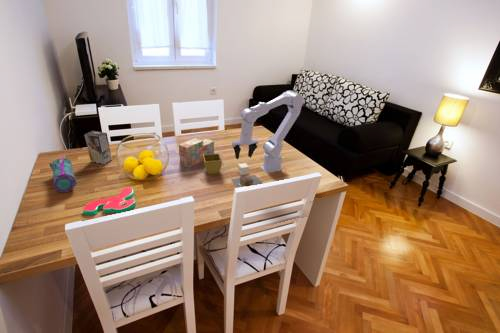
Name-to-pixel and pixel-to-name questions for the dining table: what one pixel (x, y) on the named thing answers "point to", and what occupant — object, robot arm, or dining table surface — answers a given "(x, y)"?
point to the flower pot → (212, 163)
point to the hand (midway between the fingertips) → (243, 157)
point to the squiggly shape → (112, 203)
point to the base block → (246, 181)
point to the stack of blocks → (194, 151)
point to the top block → (243, 169)
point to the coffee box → (98, 147)
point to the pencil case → (63, 175)
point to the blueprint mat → (254, 177)
